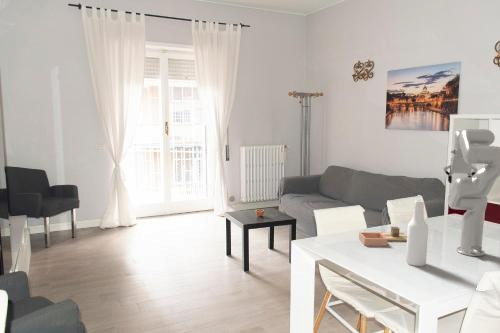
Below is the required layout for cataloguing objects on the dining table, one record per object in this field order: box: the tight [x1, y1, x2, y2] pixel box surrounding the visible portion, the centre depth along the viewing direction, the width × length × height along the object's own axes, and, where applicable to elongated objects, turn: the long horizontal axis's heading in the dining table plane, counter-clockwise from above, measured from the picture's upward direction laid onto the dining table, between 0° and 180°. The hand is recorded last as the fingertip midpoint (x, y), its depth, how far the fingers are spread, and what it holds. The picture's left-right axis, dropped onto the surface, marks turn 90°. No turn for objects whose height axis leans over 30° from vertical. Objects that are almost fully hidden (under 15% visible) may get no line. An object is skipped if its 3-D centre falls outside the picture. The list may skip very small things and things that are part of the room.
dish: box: [358, 231, 388, 247], centre depth 217 cm, size 12×12×4 cm
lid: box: [381, 226, 407, 243], centre depth 225 cm, size 14×14×6 cm
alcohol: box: [405, 199, 429, 267], centre depth 185 cm, size 9×9×30 cm
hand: (459, 183), depth 225 cm, fingers open, 9 cm apart
